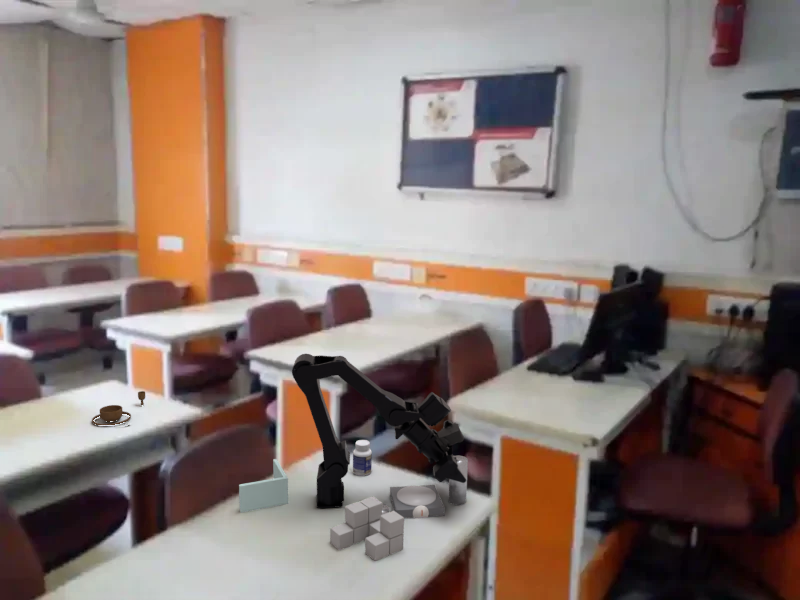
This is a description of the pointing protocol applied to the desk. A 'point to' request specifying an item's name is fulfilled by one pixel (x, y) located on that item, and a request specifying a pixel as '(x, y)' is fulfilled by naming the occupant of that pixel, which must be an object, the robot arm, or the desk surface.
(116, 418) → the place setting
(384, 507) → the short steel spacer
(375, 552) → the puzzle cube
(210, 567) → the desk surface
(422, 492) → the scale
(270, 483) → the l-shaped corner panel
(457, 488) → the cylinder
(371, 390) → the robot arm
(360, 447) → the pill bottle
